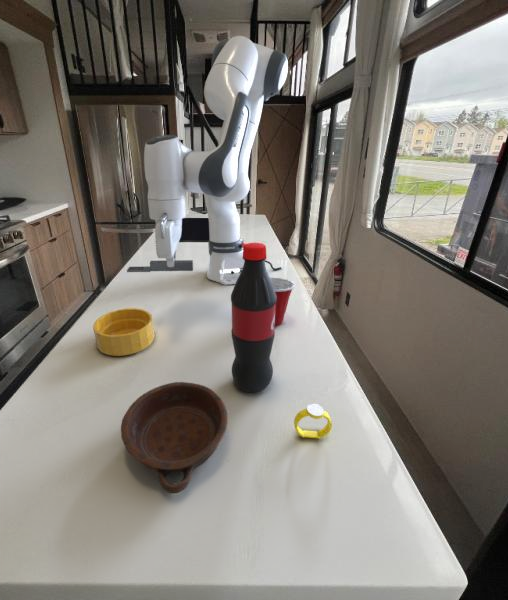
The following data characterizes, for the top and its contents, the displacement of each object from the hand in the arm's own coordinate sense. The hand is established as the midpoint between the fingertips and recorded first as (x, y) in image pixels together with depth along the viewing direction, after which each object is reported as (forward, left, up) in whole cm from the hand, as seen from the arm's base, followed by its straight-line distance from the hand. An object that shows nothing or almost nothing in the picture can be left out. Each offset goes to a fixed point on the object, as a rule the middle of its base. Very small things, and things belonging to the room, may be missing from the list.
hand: (171, 264), depth 84 cm
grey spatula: (+3, 0, -2) cm, 3 cm away
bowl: (+12, +9, -18) cm, 23 cm away
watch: (-28, +40, -18) cm, 52 cm away
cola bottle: (-19, +26, -18) cm, 37 cm away
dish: (-5, +40, -18) cm, 44 cm away
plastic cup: (-27, 0, -18) cm, 32 cm away
